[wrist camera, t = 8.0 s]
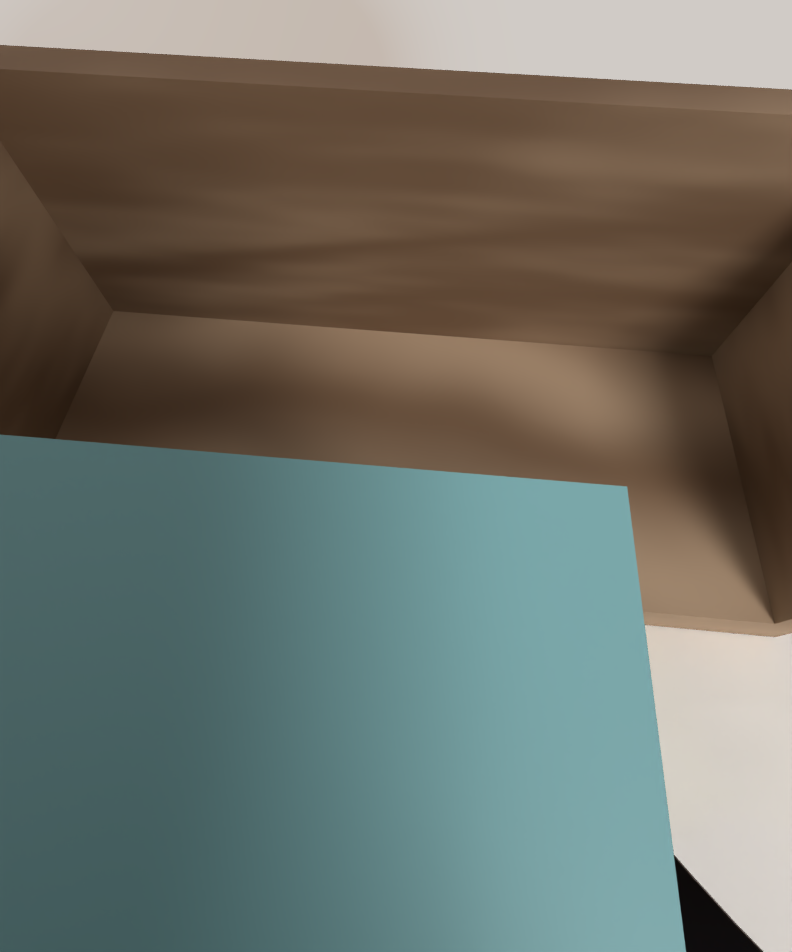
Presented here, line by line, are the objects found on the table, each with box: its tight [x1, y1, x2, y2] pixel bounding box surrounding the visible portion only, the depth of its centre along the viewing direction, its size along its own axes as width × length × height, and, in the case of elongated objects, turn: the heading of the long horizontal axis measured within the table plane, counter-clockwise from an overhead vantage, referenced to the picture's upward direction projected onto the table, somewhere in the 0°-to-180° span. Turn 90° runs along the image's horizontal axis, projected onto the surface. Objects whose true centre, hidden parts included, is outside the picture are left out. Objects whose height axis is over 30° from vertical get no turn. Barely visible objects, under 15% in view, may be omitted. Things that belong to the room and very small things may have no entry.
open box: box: [0, 45, 792, 637], centre depth 13 cm, size 10×23×9 cm, turn 85°
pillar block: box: [0, 435, 686, 952], centre depth 7 cm, size 4×4×11 cm
